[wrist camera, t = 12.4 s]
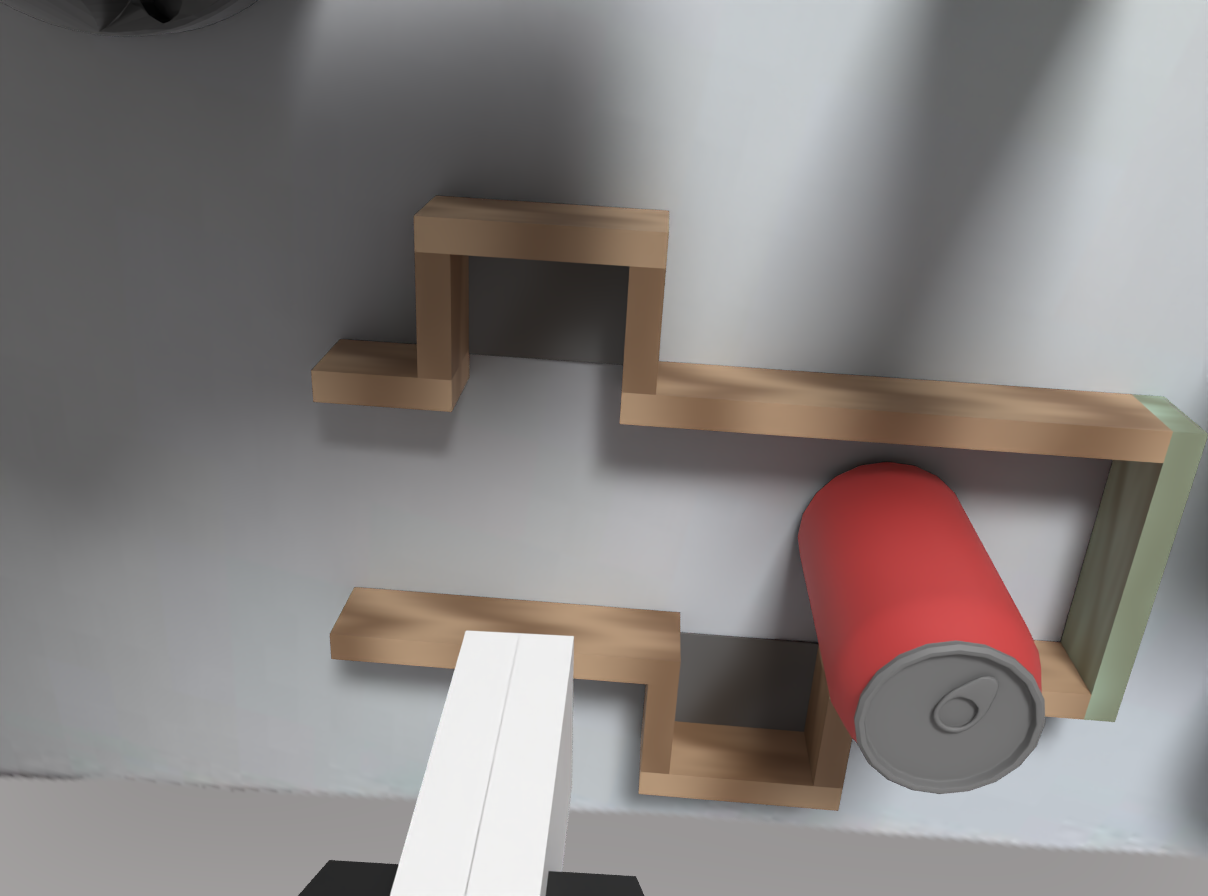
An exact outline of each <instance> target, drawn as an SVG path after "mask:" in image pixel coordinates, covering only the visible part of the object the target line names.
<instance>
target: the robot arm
mask: <svg viewBox="0 0 1208 896" xmlns="http://www.w3.org/2000/svg"><path fill="white" fill-rule="evenodd" d="M256 1H257V0H0V2H2V3H4V4H6V5H8V6H10V7H12V8H13V9H15V10H17V11H20V12H22V13H24V14H26V15H29V16H31V17H33V18H36V19H39V20H41V21H44V22H47V23H50V24H53V25H56V26H60V27H63V28H67V29H71V30H76V31H80V32H85V33H90V34H97V35H105V36H121V37H132V36H149V35H159V34H168V33H176V32H184V31H189V30H193V29H198V28H201V27H205V26H208V25H211V24H214V23H217V22H219V21H221V20H224V19H226V18H229V17H231V16H232V15H234V14H236V13H238V12H240V11H242V10H244V9H245V8H247V7H248V6H250V5H252V4H253V3H255V2H256ZM573 667H574V636H561V635H542V634H523V633H504V632H485V631H466V632H465V635H464V639H463V642H462V646H461V649H460V653H459V656H458V660H457V663H456V667H455V670H454V674H453V677H452V681H451V684H450V688H449V691H448V695H447V698H446V702H445V705H444V709H443V712H442V716H441V719H440V723H439V726H438V729H437V733H436V736H435V740H434V743H433V747H432V750H431V754H430V757H429V761H428V764H427V768H426V771H425V775H424V778H423V782H422V785H421V789H420V792H419V796H418V799H417V803H416V806H415V810H414V813H413V817H412V821H411V824H410V828H409V831H408V834H407V838H406V841H405V845H404V848H403V852H402V855H401V859H400V862H399V864H383V863H366V862H351V861H350V862H349V861H335V860H329V861H328V862H327V863H326V865H325V866H324V867H323V868H322V869H321V870H320V871H319V873H318V874H317V875H316V876H315V877H314V878H313V879H312V880H311V882H310V883H309V884H308V885H307V886H306V887H305V888H304V890H303V891H302V892H301V893H300V894H299V895H298V896H644V894H643V892H642V889H641V887H640V885H639V882H638V880H637V878H636V876H621V875H604V874H589V873H588V874H587V873H572V872H562V869H563V860H564V852H565V843H566V833H567V824H568V815H569V806H570V797H571V788H572V745H573Z"/></svg>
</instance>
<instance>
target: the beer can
mask: <svg viewBox="0 0 1208 896" xmlns="http://www.w3.org/2000/svg"><path fill="white" fill-rule="evenodd" d="M798 543H799V551H800V558H801V563H802V568H803V573H804V577H805V582H806V587H807V591H808V596H809V601H810V605H811V610H812V615H813V619H814V624H815V629H816V633H817V638H818V643H819V648H820V652H821V657H822V662H823V666H824V671H825V676H826V680H827V685H828V690H829V694H830V699H831V703H832V704H833V706H834V708H835V710H836V711H837V713H838V715H839V717H840V719H841V720H842V722H843V724H844V726H845V727H846V729H847V731H848V732H849V734H850V736H851V737H852V738H853V739H854V740H855V741H856V743H857V744H858V746H859V747H860V749H861V751H862V753H863V755H864V756H865V758H866V760H867V762H868V763H869V764H870V765H871V766H872V767H873V768H874V769H876V770H877V771H878V772H879V773H880V774H881V775H883V776H884V777H885V778H886V779H887V780H890V781H892V782H894V783H897V784H899V785H901V786H904V787H906V788H908V789H911V790H916V791H923V792H930V793H937V794H944V793H955V792H965V791H970V790H973V789H976V788H979V787H982V786H985V785H988V784H991V783H994V782H996V781H998V780H999V779H1001V778H1002V777H1004V776H1005V775H1007V774H1008V773H1010V772H1012V771H1013V770H1015V769H1016V768H1018V767H1019V766H1020V765H1021V764H1022V763H1023V761H1024V760H1025V759H1026V758H1027V757H1028V756H1029V754H1030V753H1031V752H1032V751H1033V750H1034V749H1035V747H1036V746H1037V743H1038V741H1039V738H1040V736H1041V733H1042V730H1043V728H1044V725H1045V700H1044V697H1043V695H1042V684H1041V663H1040V657H1039V651H1038V649H1037V647H1036V645H1035V643H1034V640H1033V638H1032V636H1031V634H1030V632H1029V630H1028V627H1027V625H1026V624H1025V622H1024V620H1023V618H1022V616H1021V614H1020V613H1019V611H1018V609H1017V607H1016V605H1015V603H1014V601H1013V600H1012V598H1011V596H1010V594H1009V592H1008V590H1007V589H1006V587H1005V585H1004V583H1003V581H1002V579H1001V577H1000V576H999V574H998V572H997V570H996V568H995V566H994V565H993V563H992V561H991V559H990V557H989V555H988V553H987V552H986V550H985V548H984V546H983V544H982V542H981V541H980V539H979V537H978V535H977V533H976V531H975V529H974V528H973V526H972V524H971V522H970V520H969V518H968V517H967V515H966V513H965V511H964V509H963V507H962V505H961V504H960V502H959V500H958V498H957V496H956V494H955V493H954V492H953V491H952V490H951V489H950V488H949V487H948V486H947V485H946V484H945V483H944V482H943V481H942V480H941V479H940V478H939V477H938V476H935V475H933V474H931V473H929V472H927V471H925V470H923V469H921V468H918V467H916V466H913V465H906V464H899V463H892V462H882V463H875V464H868V465H861V466H858V467H856V468H854V469H851V470H849V471H847V472H845V473H842V474H840V475H838V476H836V477H835V478H834V479H832V480H831V481H830V482H829V483H828V484H826V485H825V486H824V487H823V488H822V489H820V490H819V491H818V492H817V493H816V494H815V496H814V497H813V499H812V501H811V502H810V504H809V505H808V507H807V508H806V510H805V512H804V513H803V516H802V520H801V524H800V529H799V533H798Z"/></svg>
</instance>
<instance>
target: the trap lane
mask: <svg viewBox="0 0 1208 896" xmlns="http://www.w3.org/2000/svg"><path fill="white" fill-rule="evenodd" d="M668 235H669V211H665V210H649V209H634V208H619V207H603V206H588V205H573V204H557V203H542V202H527V201H511V200H496V199H481V198H465V197H450V196H435V197H434V198H433V199H432V200H430V201H429V202H428V203H427V204H426V205H425V206H424V207H423V208H422V209H421V210H419V211H418V212H417V213H416V214H415V215H414V250H415V291H416V331H417V344H404V343H390V342H376V341H362V340H347V339H340V340H339V341H338V342H337V343H336V344H335V345H334V346H333V347H332V348H331V349H330V351H329V352H328V353H327V354H326V355H325V356H324V357H323V358H322V359H321V360H320V361H319V362H318V363H317V365H316V366H315V367H314V368H313V369H312V370H311V376H312V390H313V402H322V403H336V404H350V405H363V406H377V407H391V408H405V409H419V410H433V411H447V412H452V410H453V409H454V407H455V405H456V403H457V401H458V399H459V397H460V395H461V393H462V391H463V389H464V387H465V385H466V383H467V381H468V379H469V354H478V355H492V356H507V357H521V358H535V359H549V360H563V361H578V362H592V363H606V364H620V365H623V379H622V394H621V410H620V424H627V425H641V426H654V427H668V428H682V429H696V430H710V431H724V432H738V433H751V434H765V435H779V436H793V437H807V438H821V439H835V440H848V441H862V442H876V443H890V444H904V445H918V446H932V447H945V448H959V449H973V450H987V451H1001V452H1015V453H1029V454H1042V455H1056V456H1070V457H1084V458H1098V459H1112V460H1113V461H1112V465H1111V468H1110V472H1109V475H1108V479H1107V482H1106V486H1105V489H1104V493H1103V496H1102V500H1101V503H1100V507H1099V510H1098V514H1097V517H1096V521H1095V524H1094V528H1093V531H1092V534H1091V538H1090V541H1089V545H1088V548H1087V552H1086V555H1085V559H1084V562H1083V566H1082V569H1081V573H1080V576H1079V580H1078V583H1077V587H1076V590H1075V594H1074V597H1073V601H1072V604H1071V608H1070V611H1069V615H1068V618H1067V622H1066V625H1065V629H1064V632H1063V636H1062V639H1061V642H1051V641H1038V640H1034V643H1035V645H1036V647H1037V649H1038V651H1039V657H1040V663H1041V684H1042V695H1043V697H1044V700H1045V716H1047V717H1059V718H1072V719H1084V720H1096V721H1109V722H1115V720H1116V717H1117V714H1118V710H1119V707H1120V704H1121V701H1122V698H1123V695H1124V692H1125V689H1126V686H1127V683H1128V680H1129V677H1130V674H1131V671H1132V668H1133V664H1134V661H1135V658H1136V655H1137V652H1138V649H1139V646H1140V643H1141V640H1142V637H1143V634H1144V631H1145V628H1146V625H1147V621H1148V618H1149V615H1150V612H1151V609H1152V606H1153V603H1154V600H1155V597H1156V594H1157V591H1158V588H1159V585H1160V582H1161V579H1162V575H1163V572H1164V569H1165V566H1166V563H1167V560H1168V557H1169V554H1170V551H1171V548H1172V545H1173V542H1174V539H1175V536H1176V533H1177V529H1178V526H1179V523H1180V520H1181V517H1182V514H1183V511H1184V508H1185V505H1186V502H1187V499H1188V496H1189V493H1190V490H1191V487H1192V483H1193V480H1194V477H1195V474H1196V471H1197V468H1198V465H1199V462H1200V459H1201V456H1202V453H1203V450H1204V447H1205V444H1206V440H1207V437H1208V433H1206V432H1205V431H1204V430H1203V429H1202V428H1201V427H1199V426H1198V425H1197V424H1196V423H1195V422H1193V421H1192V420H1191V419H1190V418H1189V417H1188V416H1186V415H1185V414H1184V413H1183V412H1182V411H1180V410H1179V409H1178V408H1177V407H1176V406H1175V405H1173V404H1172V403H1171V402H1170V401H1169V400H1167V399H1166V398H1165V397H1161V396H1147V395H1132V394H1118V393H1104V392H1089V391H1075V390H1061V389H1047V388H1032V387H1018V386H1004V385H990V384H975V383H961V382H947V381H932V380H918V379H904V378H890V377H875V376H861V375H847V374H833V373H818V372H804V371H790V370H775V369H761V368H747V367H733V366H718V365H704V364H690V363H676V362H661V361H659V349H660V336H661V324H662V311H663V299H664V286H665V273H666V261H667V248H668ZM466 631H485V632H504V633H523V634H542V635H561V636H574V667H573V678H575V679H587V680H599V681H612V682H624V683H637V684H645V696H644V708H643V719H642V731H641V747H640V772H639V794H646V795H658V796H670V797H682V798H693V799H705V800H717V801H729V802H741V803H753V804H765V805H777V806H789V807H801V808H812V809H824V810H836V811H838V809H839V804H840V799H841V794H842V789H843V783H844V778H845V773H846V768H847V763H848V758H849V752H850V747H851V742H852V737H851V736H850V734H849V732H848V731H847V729H846V727H845V726H844V724H843V722H842V720H841V719H840V717H839V715H838V713H837V711H836V710H835V708H834V706H833V704H832V703H831V699H830V694H829V690H828V685H827V680H826V676H825V671H824V666H823V662H822V657H821V652H820V648H819V643H810V642H797V641H785V640H772V639H759V638H747V637H734V636H721V635H708V634H696V633H683V632H680V612H667V611H654V610H641V609H629V608H616V607H603V606H590V605H577V604H565V603H552V602H539V601H526V600H513V599H501V598H488V597H475V596H462V595H449V594H436V593H424V592H411V591H398V590H385V589H372V588H360V587H354V589H353V591H352V593H351V595H350V596H349V598H348V600H347V602H346V604H345V606H344V608H343V610H342V612H341V614H340V616H339V617H338V619H337V621H336V623H335V625H334V627H333V629H332V631H331V633H330V645H331V659H339V660H351V661H363V662H376V663H388V664H401V665H413V666H426V667H438V668H450V669H455V667H456V663H457V660H458V656H459V653H460V649H461V646H462V642H463V639H464V635H465V632H466Z"/></svg>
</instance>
